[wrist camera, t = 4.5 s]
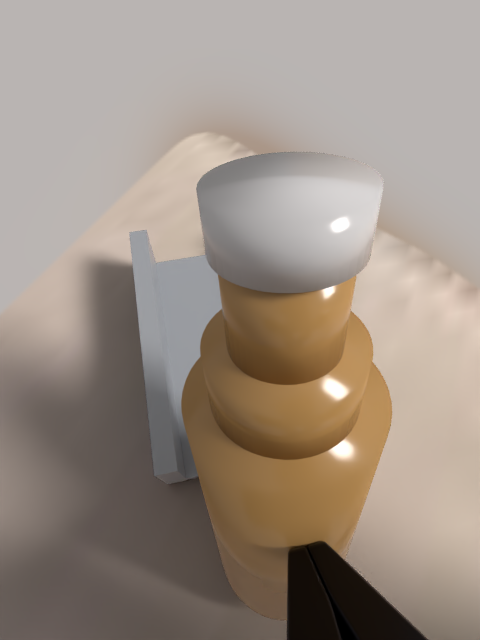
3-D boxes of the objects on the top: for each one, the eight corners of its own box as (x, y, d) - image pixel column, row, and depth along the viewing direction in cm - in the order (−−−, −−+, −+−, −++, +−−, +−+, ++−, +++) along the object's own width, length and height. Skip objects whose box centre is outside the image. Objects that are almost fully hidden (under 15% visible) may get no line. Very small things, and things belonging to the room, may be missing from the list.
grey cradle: (345, 443, 16) (369, 427, 14) (168, 484, 15) (154, 476, 13) (279, 249, 21) (287, 208, 19) (143, 271, 21) (129, 232, 18)
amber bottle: (347, 504, 15) (450, 138, 6) (332, 643, 12) (502, 295, 3) (242, 474, 16) (201, 133, 7) (203, 592, 13) (49, 241, 4)
